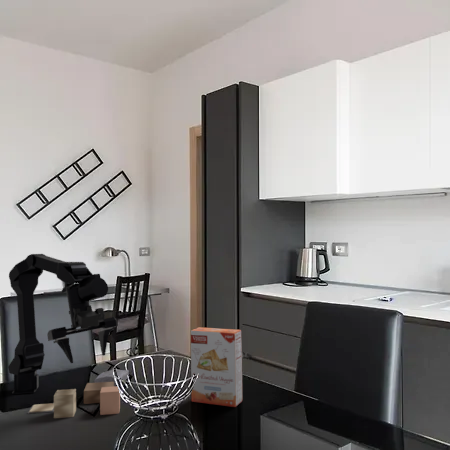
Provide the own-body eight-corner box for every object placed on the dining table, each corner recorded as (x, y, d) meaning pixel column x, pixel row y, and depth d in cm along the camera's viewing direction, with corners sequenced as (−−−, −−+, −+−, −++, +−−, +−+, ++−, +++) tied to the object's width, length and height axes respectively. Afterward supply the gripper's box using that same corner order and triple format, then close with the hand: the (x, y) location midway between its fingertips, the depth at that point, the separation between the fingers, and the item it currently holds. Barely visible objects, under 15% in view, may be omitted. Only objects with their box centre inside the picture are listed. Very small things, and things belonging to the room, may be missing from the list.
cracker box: (190, 402, 139) (189, 329, 140) (199, 396, 144) (198, 326, 145) (235, 408, 133) (234, 332, 134) (243, 401, 139) (241, 328, 140)
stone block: (93, 395, 154) (123, 388, 154) (90, 380, 154) (120, 373, 154) (103, 385, 166) (131, 379, 166) (100, 371, 166) (128, 365, 166)
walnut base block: (83, 404, 139) (83, 390, 140) (87, 396, 147) (87, 383, 147) (112, 402, 141) (111, 389, 141) (114, 394, 149) (113, 381, 149)
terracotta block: (100, 415, 130) (100, 392, 130) (101, 408, 135) (101, 387, 135) (119, 413, 131) (118, 391, 131) (120, 407, 136) (119, 386, 136)
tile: (27, 413, 132) (27, 412, 132) (32, 405, 138) (32, 404, 138) (53, 411, 133) (53, 410, 133) (57, 404, 139) (57, 402, 139)
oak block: (53, 418, 128) (53, 395, 128) (57, 412, 133) (57, 390, 133) (73, 417, 129) (73, 394, 129) (76, 410, 134) (75, 388, 134)
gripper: (53, 306, 127) (62, 366, 124) (119, 294, 138) (129, 349, 135) (43, 312, 136) (51, 367, 133) (106, 300, 146) (115, 352, 144)
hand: (88, 359), depth 136 cm, fingers open, 9 cm apart
